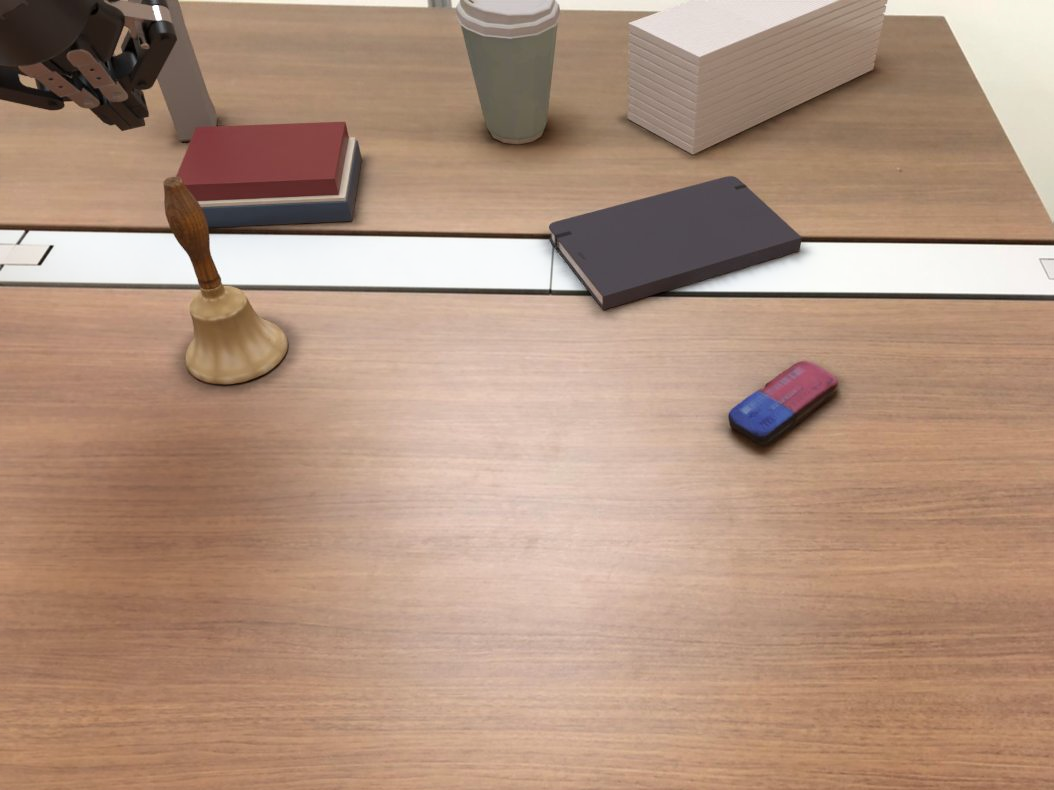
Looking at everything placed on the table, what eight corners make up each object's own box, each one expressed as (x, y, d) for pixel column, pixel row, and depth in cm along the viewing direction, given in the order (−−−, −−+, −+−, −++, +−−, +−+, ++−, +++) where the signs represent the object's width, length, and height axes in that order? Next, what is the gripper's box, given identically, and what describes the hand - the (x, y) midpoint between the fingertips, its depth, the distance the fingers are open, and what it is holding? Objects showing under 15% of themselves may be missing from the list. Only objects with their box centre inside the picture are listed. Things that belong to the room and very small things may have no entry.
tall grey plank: (218, 117, 105) (132, -139, 87) (216, 139, 102) (127, -122, 84) (183, 121, 105) (89, -136, 86) (180, 143, 102) (83, -119, 83)
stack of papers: (808, 41, 122) (821, -48, 114) (873, 69, 117) (892, -22, 109) (627, 119, 107) (628, 22, 99) (692, 155, 102) (699, 56, 94)
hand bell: (184, 332, 80) (110, 162, 69) (283, 314, 82) (227, 146, 71) (187, 394, 75) (106, 223, 63) (292, 373, 77) (234, 203, 65)
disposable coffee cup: (531, 100, 110) (522, -37, 99) (584, 137, 104) (581, -4, 93) (453, 125, 105) (434, -15, 94) (503, 166, 100) (489, 22, 89)
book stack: (352, 221, 92) (342, 181, 89) (184, 229, 91) (168, 188, 88) (362, 159, 100) (353, 120, 97) (208, 165, 99) (194, 125, 95)
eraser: (805, 366, 79) (809, 349, 78) (844, 389, 77) (848, 372, 76) (718, 429, 74) (720, 412, 72) (758, 456, 72) (761, 439, 70)
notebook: (602, 310, 84) (800, 250, 90) (602, 296, 82) (802, 237, 89) (546, 237, 91) (732, 187, 98) (545, 223, 90) (734, 174, 97)
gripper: (86, -162, 44) (217, 38, 61) (-207, -104, 43) (12, 85, 60) (126, -15, 44) (247, 145, 61) (-168, 48, 42) (41, 194, 60)
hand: (130, 115), depth 61 cm, fingers closed
